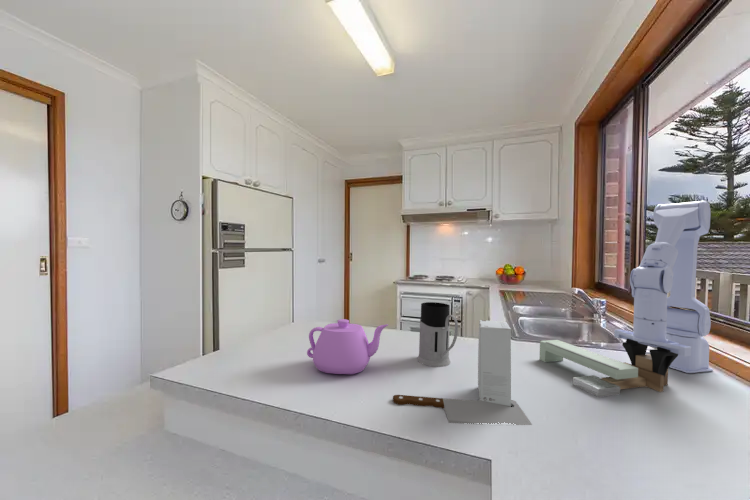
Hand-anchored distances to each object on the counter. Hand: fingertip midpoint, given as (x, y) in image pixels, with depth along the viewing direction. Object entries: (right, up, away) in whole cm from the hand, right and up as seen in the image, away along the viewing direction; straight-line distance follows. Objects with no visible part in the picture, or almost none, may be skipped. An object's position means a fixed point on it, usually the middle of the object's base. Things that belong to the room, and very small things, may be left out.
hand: (648, 377), depth 71 cm
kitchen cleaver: (-48, -1, -15) cm, 50 cm away
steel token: (-15, -1, -4) cm, 16 cm away
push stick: (-4, -1, -1) cm, 5 cm away
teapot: (-70, 0, +4) cm, 71 cm away
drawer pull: (-12, -1, +5) cm, 13 cm away
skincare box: (-39, -1, -9) cm, 40 cm away
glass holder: (-47, 0, +8) cm, 47 cm away
